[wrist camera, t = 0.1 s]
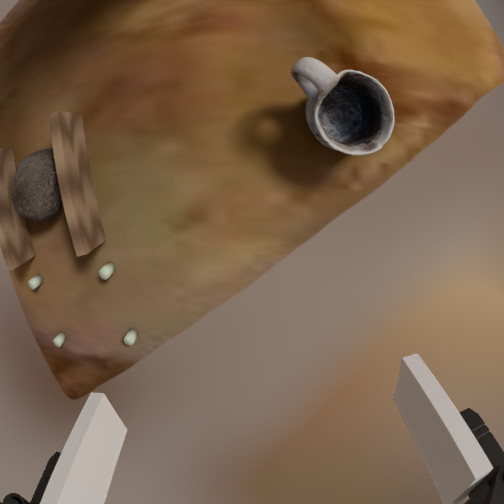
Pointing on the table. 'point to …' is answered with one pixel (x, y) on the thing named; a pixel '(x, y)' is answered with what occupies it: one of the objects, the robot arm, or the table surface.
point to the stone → (36, 187)
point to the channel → (71, 187)
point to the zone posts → (104, 274)
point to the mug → (345, 107)
